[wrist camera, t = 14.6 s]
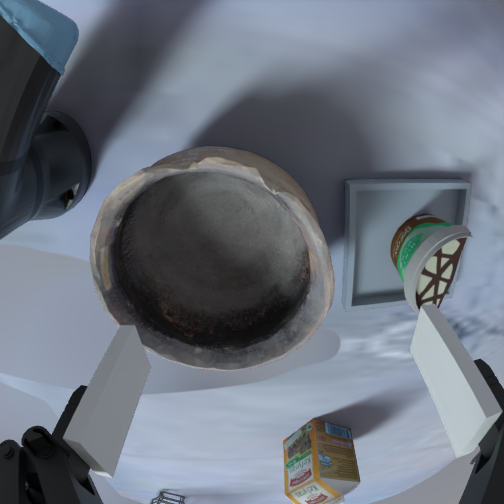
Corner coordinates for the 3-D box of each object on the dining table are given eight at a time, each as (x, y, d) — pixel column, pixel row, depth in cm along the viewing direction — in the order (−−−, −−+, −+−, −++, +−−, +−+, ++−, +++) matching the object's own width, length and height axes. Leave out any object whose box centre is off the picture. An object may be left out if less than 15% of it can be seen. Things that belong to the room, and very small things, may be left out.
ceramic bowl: (323, 147, 35) (360, 171, 22) (299, 303, 45) (311, 383, 31) (139, 136, 35) (74, 156, 22) (146, 290, 45) (108, 360, 31)
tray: (341, 301, 44) (345, 311, 42) (344, 179, 37) (349, 184, 34) (445, 289, 43) (452, 297, 41) (461, 178, 36) (471, 183, 33)
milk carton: (319, 449, 63) (326, 518, 46) (283, 440, 61) (285, 515, 44) (350, 428, 59) (363, 502, 42) (313, 418, 57) (321, 500, 39)
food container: (396, 195, 37) (432, 222, 28) (434, 204, 37) (474, 232, 28) (371, 280, 42) (395, 324, 33) (408, 284, 42) (436, 325, 33)
